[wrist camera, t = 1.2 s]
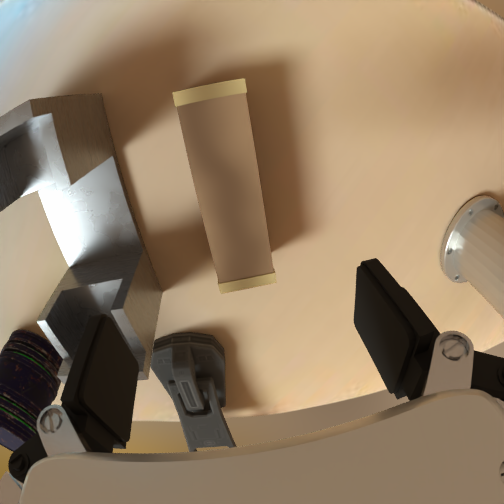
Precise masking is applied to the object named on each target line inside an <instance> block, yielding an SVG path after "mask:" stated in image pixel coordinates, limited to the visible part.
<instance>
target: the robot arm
mask: <svg viewBox="0 0 504 504" xmlns="http://www.w3.org/2000/svg"><path fill="white" fill-rule="evenodd" d="M440 259H441V267H442V270H443V272H444V274H445V275H446V276H447V277H448V278H449V279H450V280H451V281H453V282H456V283H463V282H467V281H468V282H469V283H470V284H471V285H472V286H473V287H474V288H475V289H476V290H477V291H478V292H479V293H480V294H481V295H482V296H483V297H484V298H485V299H486V300H487V301H488V302H489V303H490V304H491V305H492V307H493V308H494V309H495V310H496V311H497V312H498V313H499V314H500V315H501V316H502V318H503V319H504V213H503V210H502V207H501V205H500V204H499V202H498V201H496V200H495V199H493V198H492V197H490V196H485V195H482V196H478V197H475V198H473V199H472V200H470V201H469V202H467V203H466V204H465V205H464V206H463V207H462V208H461V209H460V210H459V212H458V213H457V214H456V216H455V217H454V219H453V220H452V222H451V224H450V226H449V228H448V230H447V232H446V234H445V237H444V240H443V244H442V249H441V258H440ZM354 324H355V327H356V329H357V331H358V333H359V335H360V337H361V339H362V341H363V342H364V344H365V346H366V348H367V350H368V352H369V354H370V356H371V358H372V360H373V362H374V364H375V365H376V367H377V369H378V371H379V373H380V375H381V377H382V379H383V381H384V383H385V385H386V387H387V389H388V391H389V392H390V393H391V394H392V393H394V394H395V396H396V398H397V399H399V398H402V397H405V396H407V397H408V399H409V400H410V401H409V402H406V403H403V404H400V405H398V406H395V407H392V408H389V409H387V410H384V411H381V412H378V413H375V414H372V415H369V416H366V417H363V418H360V419H357V420H354V421H350V422H347V423H344V424H341V425H337V426H334V427H330V428H327V429H323V430H320V431H315V432H311V433H308V434H303V435H299V436H295V437H291V438H285V439H281V440H276V441H270V442H265V443H259V444H253V445H247V446H241V447H233V448H226V449H217V450H207V451H195V452H181V453H158V454H157V453H154V454H132V453H131V454H130V453H129V454H128V453H125V454H124V453H112V452H113V448H120V449H126V442H128V441H129V439H130V432H131V423H132V415H133V408H134V401H135V394H136V387H137V381H138V374H139V364H138V362H137V360H136V358H135V357H134V355H133V354H132V352H131V351H130V349H129V347H128V346H127V344H126V342H125V341H124V339H123V338H122V336H121V334H120V332H119V331H118V329H117V327H116V326H115V324H114V322H113V320H112V319H111V318H110V317H107V315H105V314H99V315H93V316H91V317H90V318H89V321H88V323H87V326H86V328H85V331H84V333H83V336H82V338H81V341H80V344H79V346H78V349H77V352H76V354H75V357H74V360H73V363H72V366H71V368H70V371H69V374H68V377H67V380H66V383H65V387H64V390H63V393H62V396H61V399H60V400H61V401H62V405H61V406H59V405H55V404H54V405H50V406H48V407H46V408H45V409H44V410H43V411H42V412H41V413H40V415H39V417H38V419H37V430H38V432H37V433H36V434H35V435H34V436H32V437H31V438H30V439H29V440H27V441H26V442H25V443H24V444H22V445H21V446H20V447H19V448H18V449H16V450H15V451H14V452H13V453H12V455H11V457H10V459H9V471H10V473H8V472H5V474H4V475H3V477H2V478H1V480H0V504H504V358H501V357H497V356H493V355H489V354H486V353H482V352H478V351H474V348H473V344H472V342H471V340H470V339H469V338H468V337H467V336H466V335H464V334H463V333H460V332H457V331H447V332H444V333H442V334H440V333H439V331H438V330H437V329H436V327H435V326H434V325H433V323H432V322H431V321H430V319H429V318H428V317H427V315H426V314H425V313H424V312H423V310H422V309H421V308H420V307H419V305H418V304H417V303H416V302H415V300H414V299H413V298H412V297H411V295H410V294H409V293H408V292H407V290H406V289H404V288H403V287H401V286H400V285H399V284H398V283H397V282H396V280H395V279H394V278H393V277H392V276H391V274H390V273H389V272H388V271H387V270H386V268H385V267H384V266H383V265H382V264H381V263H380V261H379V260H378V259H376V258H374V259H370V260H366V261H362V262H361V265H360V266H358V267H357V274H356V294H355V310H354Z"/></svg>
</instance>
